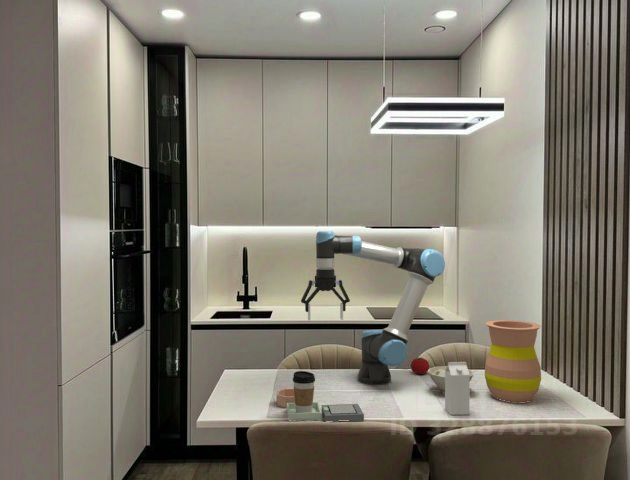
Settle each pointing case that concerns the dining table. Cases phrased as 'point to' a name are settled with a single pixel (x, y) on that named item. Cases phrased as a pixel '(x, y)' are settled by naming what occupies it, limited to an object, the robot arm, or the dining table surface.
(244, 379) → the dining table surface
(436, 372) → the bowl
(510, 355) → the vase
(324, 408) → the frame
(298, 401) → the coffee cup
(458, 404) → the milk carton
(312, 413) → the green square tray
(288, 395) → the bin
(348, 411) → the plate
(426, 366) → the tomato
